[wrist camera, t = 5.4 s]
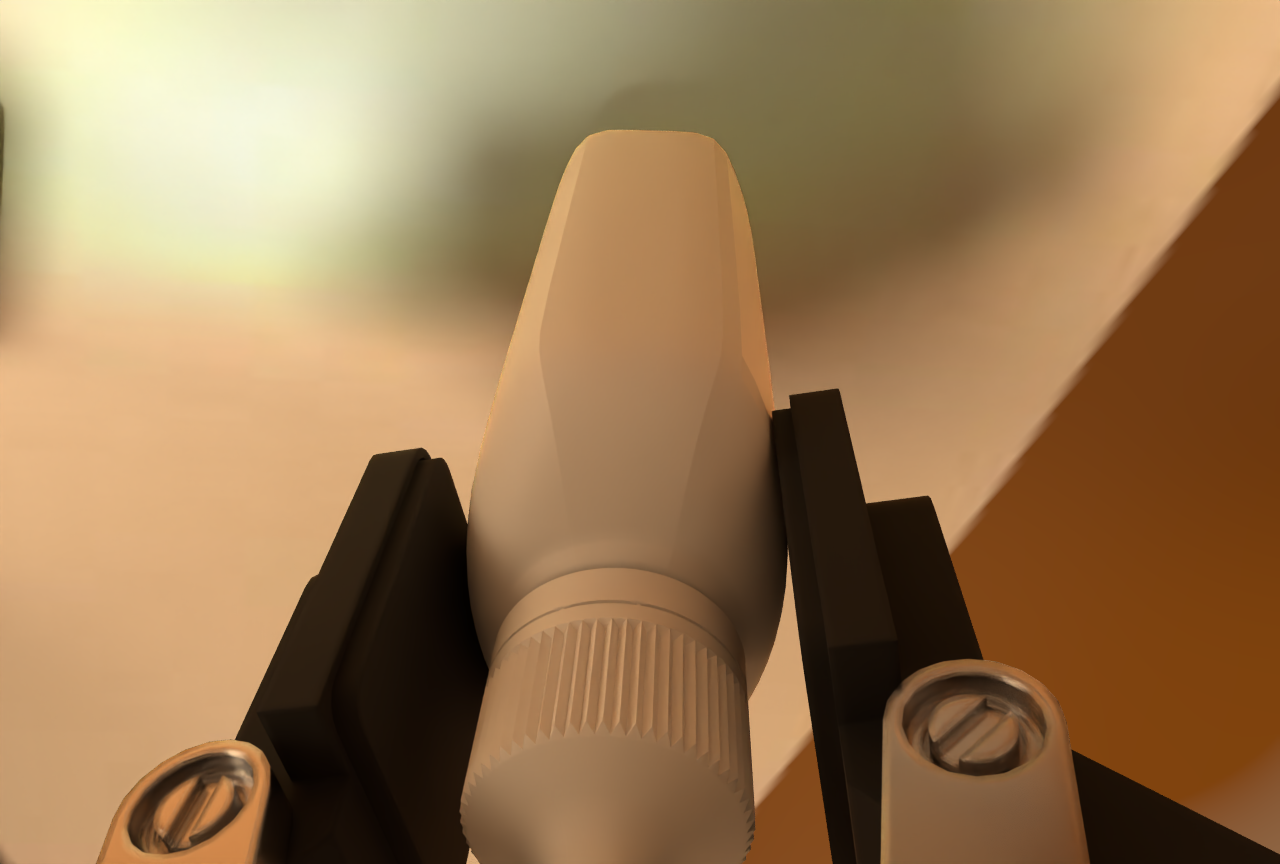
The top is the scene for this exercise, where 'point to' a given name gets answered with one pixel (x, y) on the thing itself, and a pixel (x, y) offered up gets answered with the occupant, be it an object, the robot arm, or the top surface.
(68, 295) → the top surface
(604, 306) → the eye dropper bottle
